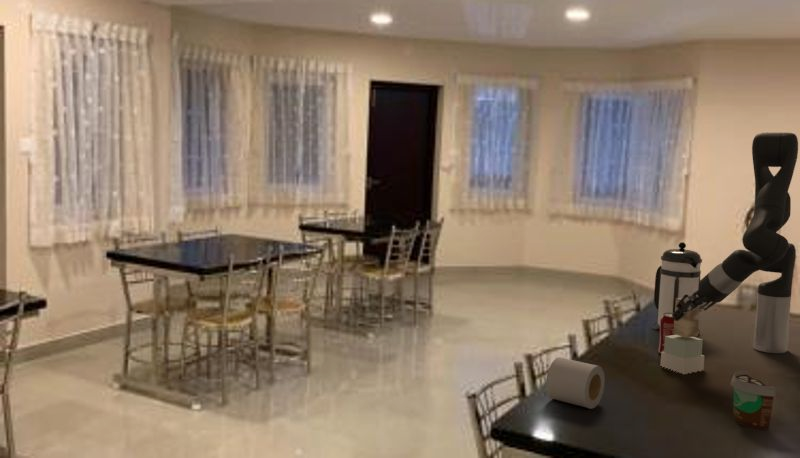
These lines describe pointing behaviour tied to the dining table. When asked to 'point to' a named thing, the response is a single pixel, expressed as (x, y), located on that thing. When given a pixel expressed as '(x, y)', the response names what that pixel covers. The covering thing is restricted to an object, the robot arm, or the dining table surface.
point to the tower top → (683, 346)
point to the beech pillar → (687, 323)
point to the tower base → (682, 363)
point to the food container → (752, 401)
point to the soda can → (665, 329)
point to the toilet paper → (575, 382)
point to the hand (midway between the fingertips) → (680, 317)
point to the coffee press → (676, 278)
